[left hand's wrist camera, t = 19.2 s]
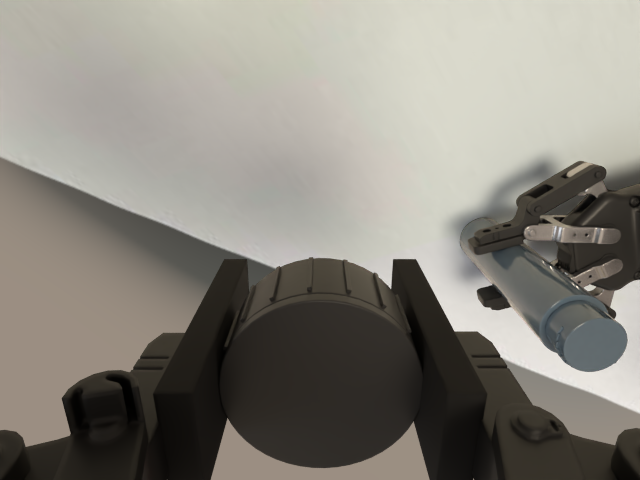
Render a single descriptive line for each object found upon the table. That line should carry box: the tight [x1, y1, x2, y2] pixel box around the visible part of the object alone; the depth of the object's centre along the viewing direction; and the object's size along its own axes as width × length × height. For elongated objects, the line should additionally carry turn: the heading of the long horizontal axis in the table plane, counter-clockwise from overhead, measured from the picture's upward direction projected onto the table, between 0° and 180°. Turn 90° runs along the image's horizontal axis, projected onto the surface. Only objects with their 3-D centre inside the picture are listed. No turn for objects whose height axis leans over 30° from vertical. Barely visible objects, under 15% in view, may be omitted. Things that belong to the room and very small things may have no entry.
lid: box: [219, 257, 423, 468], centre depth 11 cm, size 5×5×2 cm
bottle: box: [460, 218, 627, 372], centre depth 33 cm, size 4×4×18 cm
